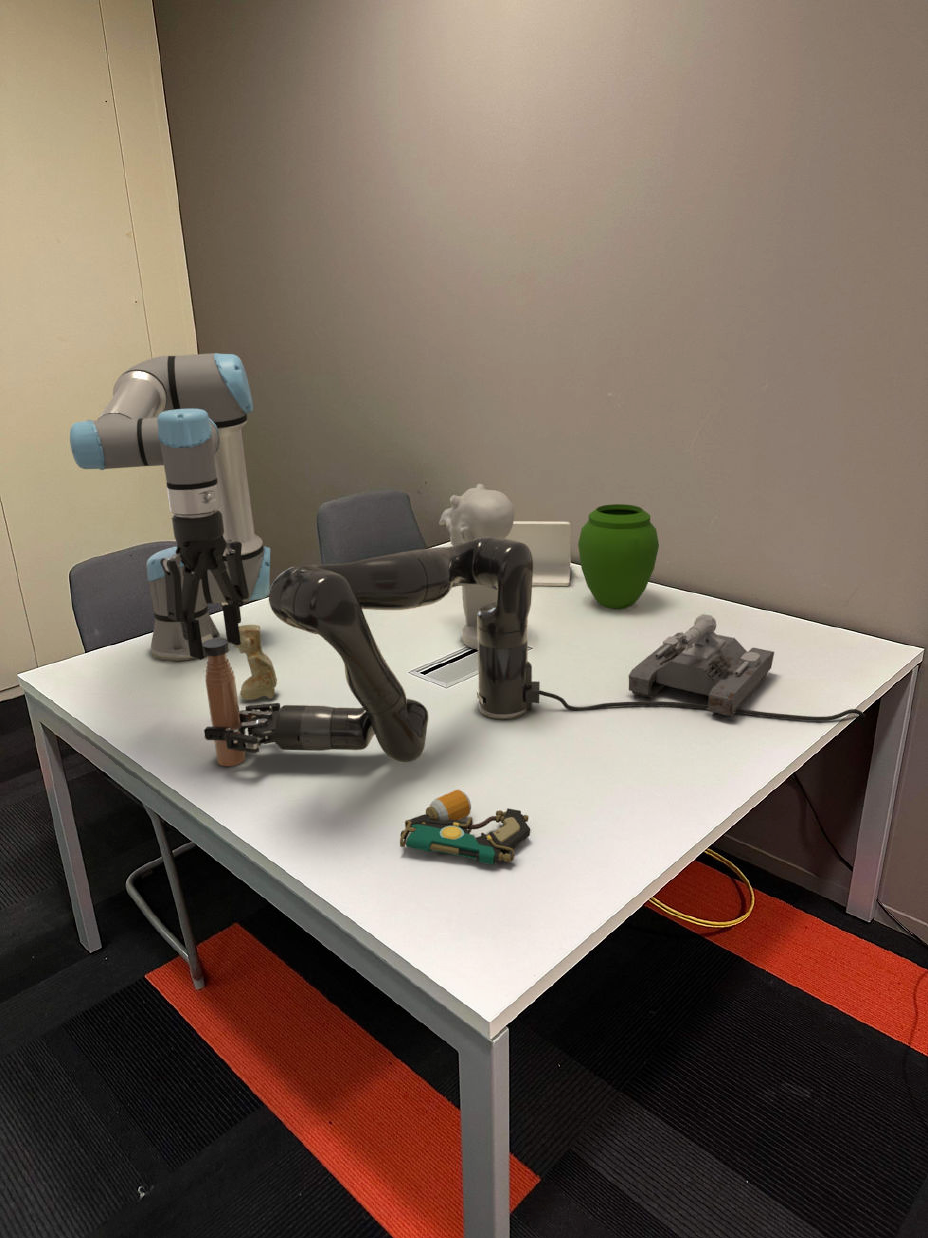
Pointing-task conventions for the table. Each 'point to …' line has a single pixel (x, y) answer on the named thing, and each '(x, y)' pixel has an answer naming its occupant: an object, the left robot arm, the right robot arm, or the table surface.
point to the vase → (618, 554)
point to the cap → (215, 647)
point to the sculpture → (256, 665)
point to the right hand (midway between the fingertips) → (211, 725)
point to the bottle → (223, 705)
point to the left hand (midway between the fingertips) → (215, 649)
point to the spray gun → (464, 831)
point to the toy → (703, 667)
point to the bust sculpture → (470, 521)
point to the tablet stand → (546, 550)
